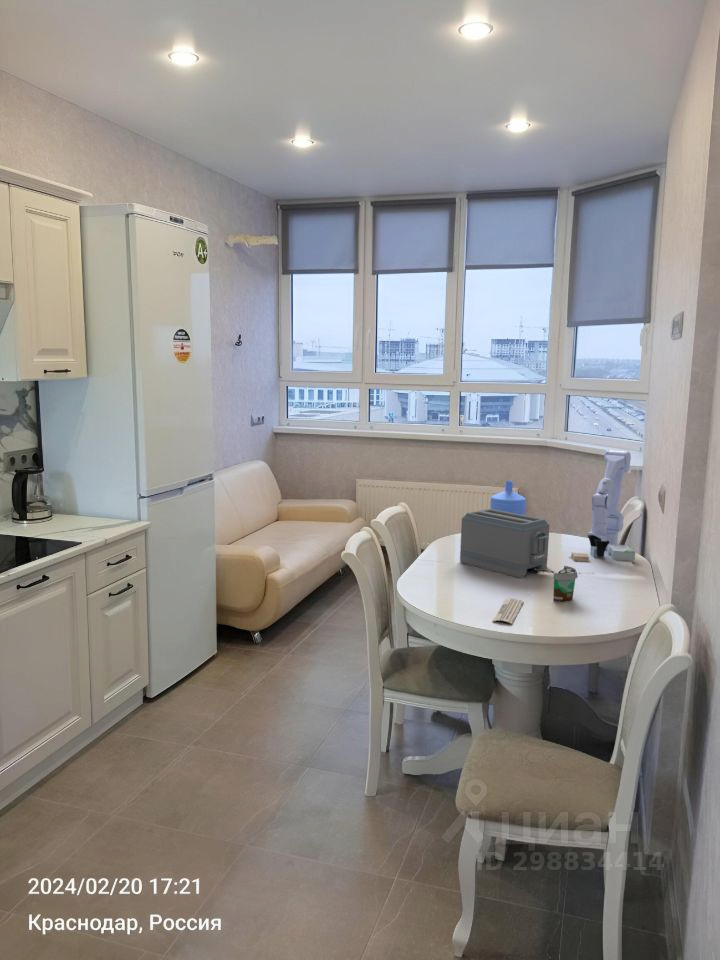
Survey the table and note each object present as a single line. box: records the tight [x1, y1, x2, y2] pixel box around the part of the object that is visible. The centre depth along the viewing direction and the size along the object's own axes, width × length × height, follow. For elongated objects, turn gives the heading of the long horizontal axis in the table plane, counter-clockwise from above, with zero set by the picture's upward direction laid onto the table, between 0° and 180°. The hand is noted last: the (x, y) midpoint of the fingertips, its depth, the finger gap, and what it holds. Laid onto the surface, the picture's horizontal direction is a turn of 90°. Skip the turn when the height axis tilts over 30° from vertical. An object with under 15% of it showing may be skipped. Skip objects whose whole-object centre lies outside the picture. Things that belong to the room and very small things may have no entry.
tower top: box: [570, 551, 590, 562], centre depth 297 cm, size 6×6×2 cm
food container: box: [552, 565, 579, 603], centre depth 248 cm, size 12×6×10 cm, turn 148°
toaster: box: [459, 508, 550, 579], centre depth 286 cm, size 19×33×20 cm, turn 43°
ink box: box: [606, 544, 636, 564], centre depth 303 cm, size 9×5×12 cm
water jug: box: [489, 480, 527, 516], centre depth 325 cm, size 16×16×28 cm
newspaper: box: [492, 598, 524, 625], centre depth 234 cm, size 24×7×2 cm, turn 159°
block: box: [589, 545, 605, 558], centre depth 303 cm, size 4×4×5 cm
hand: (597, 554), depth 303 cm, fingers open, 7 cm apart
